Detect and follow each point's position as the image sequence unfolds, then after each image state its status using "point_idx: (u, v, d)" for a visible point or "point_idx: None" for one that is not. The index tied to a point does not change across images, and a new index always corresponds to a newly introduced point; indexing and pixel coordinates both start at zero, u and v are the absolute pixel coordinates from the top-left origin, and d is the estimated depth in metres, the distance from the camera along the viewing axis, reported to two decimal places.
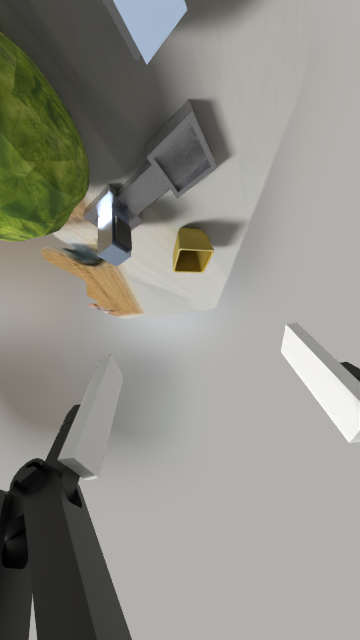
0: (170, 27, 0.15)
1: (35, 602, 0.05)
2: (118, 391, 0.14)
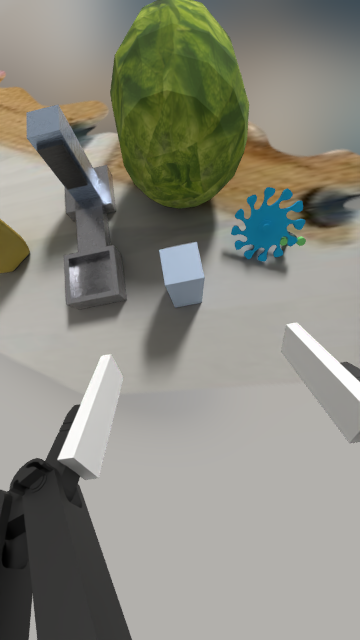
0: (164, 272, 0.21)
1: (35, 602, 0.05)
2: (118, 391, 0.14)
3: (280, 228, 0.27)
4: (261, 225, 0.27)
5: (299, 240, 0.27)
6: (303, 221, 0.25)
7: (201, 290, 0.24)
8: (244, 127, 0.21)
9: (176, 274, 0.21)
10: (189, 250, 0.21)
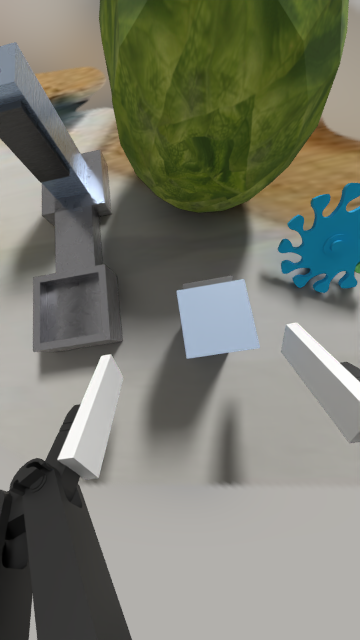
0: (185, 333, 0.12)
1: (35, 602, 0.05)
2: (118, 391, 0.14)
3: None
4: (330, 241, 0.18)
5: None
6: None
7: None
8: (334, 74, 0.12)
9: (207, 338, 0.11)
10: (231, 294, 0.12)
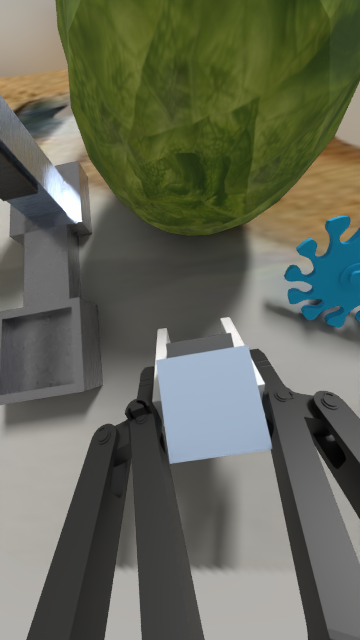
0: (168, 424, 0.08)
1: (136, 508, 0.06)
2: None
3: None
4: (348, 271, 0.15)
5: None
6: None
7: None
8: None
9: (198, 433, 0.08)
10: (230, 367, 0.09)
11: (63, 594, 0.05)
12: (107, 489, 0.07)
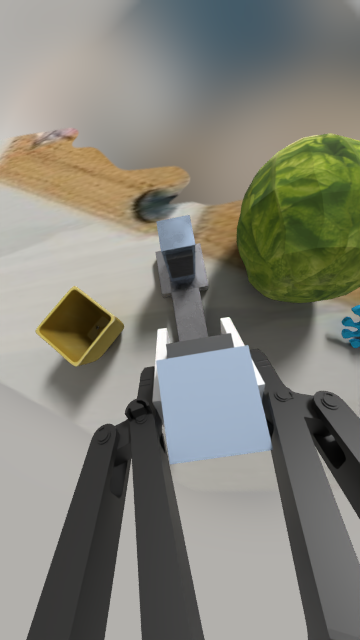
0: (168, 424, 0.08)
1: (136, 508, 0.06)
2: None
3: None
4: None
5: None
6: None
7: None
8: None
9: (198, 434, 0.08)
10: (230, 367, 0.09)
11: (63, 594, 0.05)
12: (107, 489, 0.07)
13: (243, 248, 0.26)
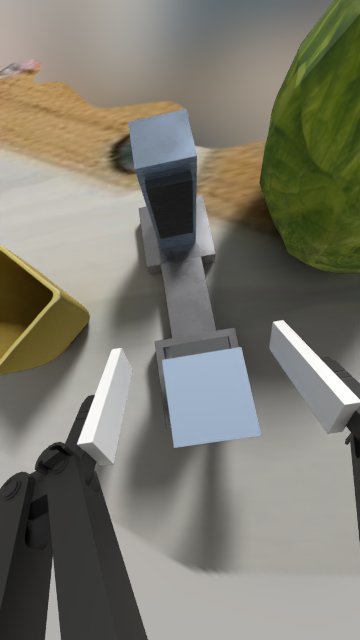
0: (173, 414, 0.10)
1: (57, 576, 0.06)
2: (128, 384, 0.14)
3: None
4: None
5: None
6: None
7: None
8: None
9: (198, 422, 0.10)
10: (226, 365, 0.10)
11: None
12: (22, 544, 0.07)
13: (277, 177, 0.16)
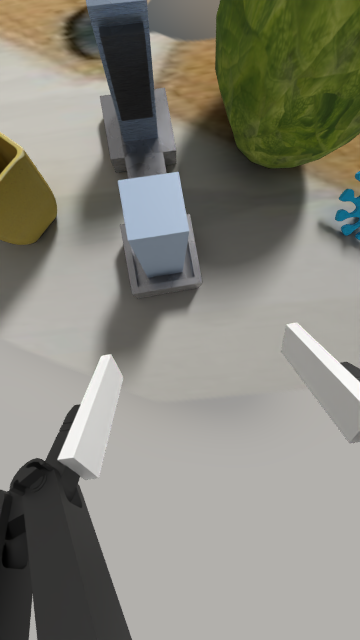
0: (126, 218, 0.13)
1: (35, 602, 0.05)
2: (118, 391, 0.14)
3: None
4: None
5: None
6: None
7: (184, 254, 0.17)
8: None
9: (145, 223, 0.13)
10: (166, 185, 0.13)
11: None
12: None
13: (224, 51, 0.17)
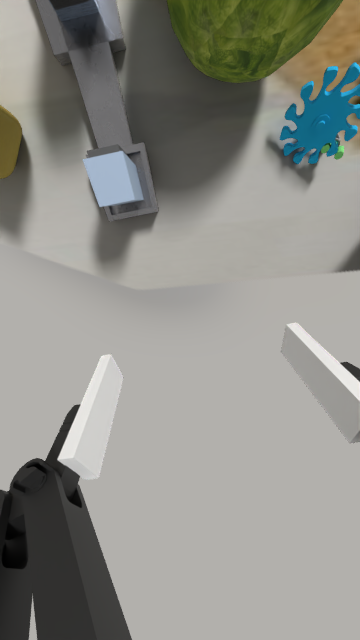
0: (95, 191, 0.22)
1: (35, 602, 0.05)
2: (118, 391, 0.14)
3: (332, 131, 0.26)
4: (318, 120, 0.25)
5: (338, 153, 0.27)
6: (355, 132, 0.25)
7: (138, 199, 0.26)
8: None
9: (107, 194, 0.22)
10: (116, 163, 0.20)
11: None
12: None
13: None
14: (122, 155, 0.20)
